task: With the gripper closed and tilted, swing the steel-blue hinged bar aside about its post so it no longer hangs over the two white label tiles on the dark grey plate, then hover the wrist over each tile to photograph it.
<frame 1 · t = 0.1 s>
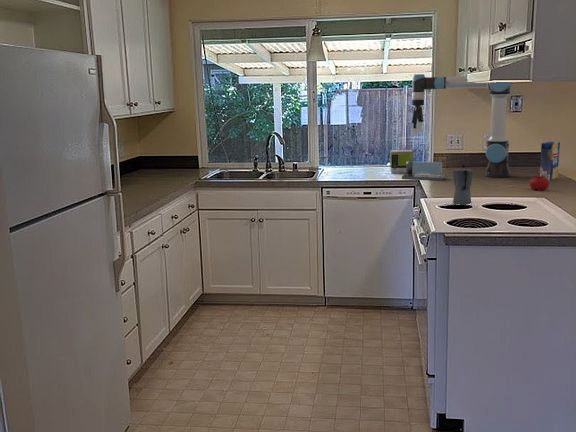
hand: (417, 132, 390), 28 cm above the worktop, tool pointing down, fingers open, 13 cm apart
tea box: (401, 172, 413), on the worktop
pomegranate: (538, 190, 337), on the worktop
beverage box: (548, 178, 374), on the worktop
moka pot: (462, 205, 299), on the worktop
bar: (423, 167, 386), point 6 cm above the worktop, hinge at 0.0°
plate: (423, 178, 385), on the worktop
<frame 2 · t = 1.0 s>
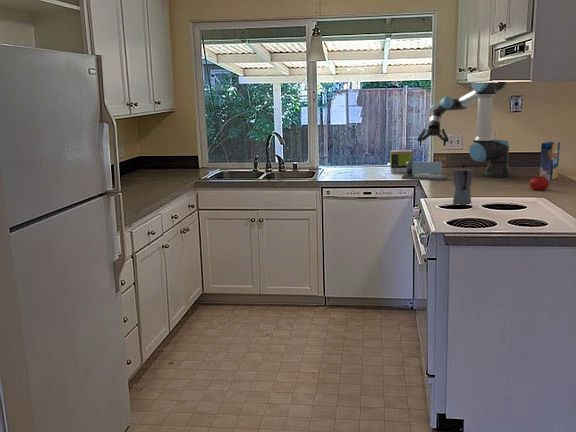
hand: (432, 149, 397), 17 cm above the worktop, tool tilted 45°, fingers open, 12 cm apart
nothing on the worktop moved.
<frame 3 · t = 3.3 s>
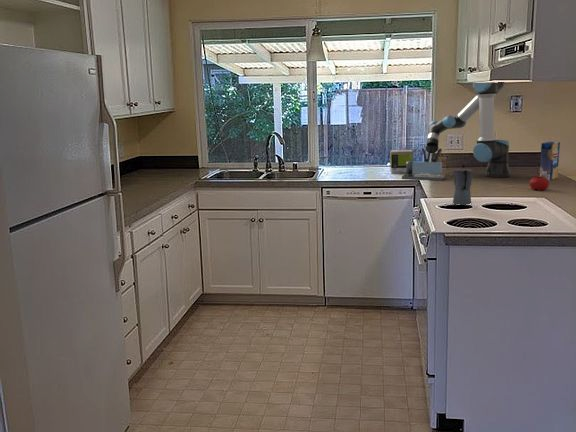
hand: (429, 170, 388), 5 cm above the worktop, tool tilted 45°, fingers closed
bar: (423, 167, 386), point 6 cm above the worktop, hinge at 0.0°, touching gripper
everything else where it was.
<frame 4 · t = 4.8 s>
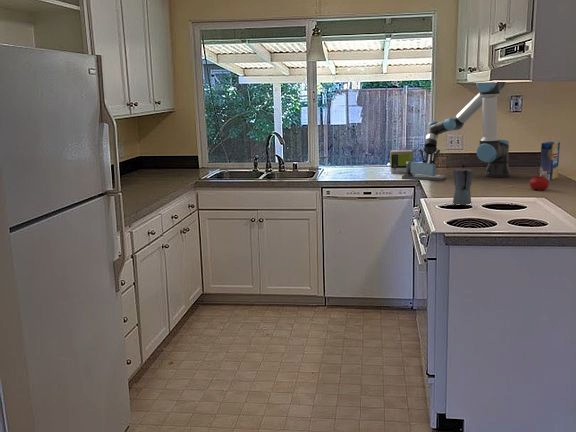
hand: (427, 171, 382), 5 cm above the worktop, tool tilted 45°, fingers closed
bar: (420, 168, 383), point 6 cm above the worktop, hinge at 29.8°, touching gripper
everything else where it was.
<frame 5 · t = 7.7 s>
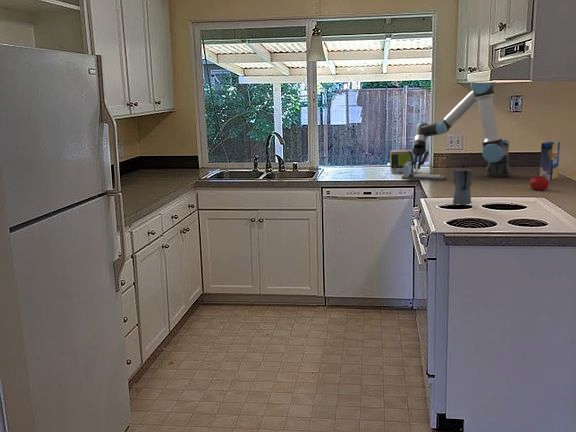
hand: (416, 173, 377), 4 cm above the worktop, tool tilted 45°, fingers closed
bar: (408, 168, 381), point 6 cm above the worktop, hinge at 84.4°, touching hand
everything else where it was.
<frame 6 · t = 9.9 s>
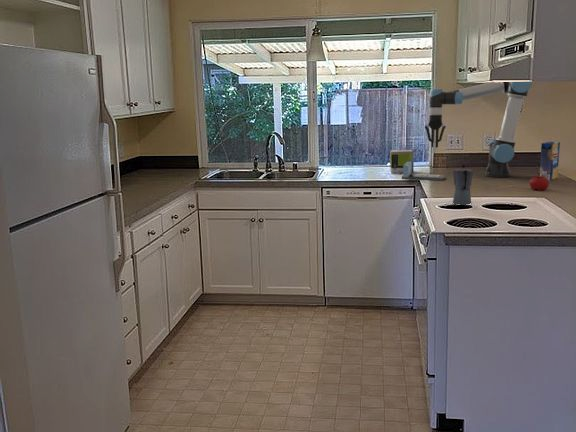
hand: (434, 152, 379), 16 cm above the worktop, tool pointing down, fingers closed
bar: (408, 168, 381), point 6 cm above the worktop, hinge at 84.4°
everything else where it was.
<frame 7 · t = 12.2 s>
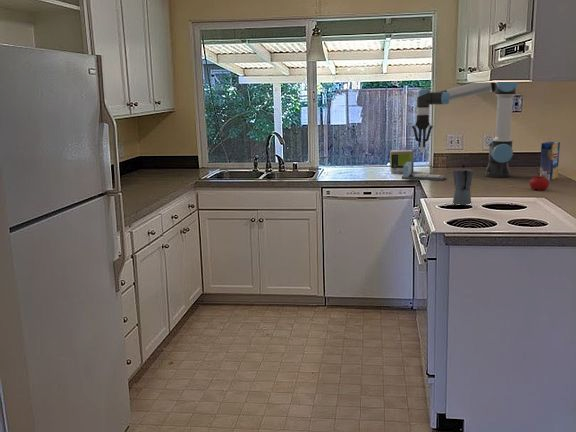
hand: (421, 152, 382), 16 cm above the worktop, tool pointing down, fingers closed
nothing on the worktop moved.
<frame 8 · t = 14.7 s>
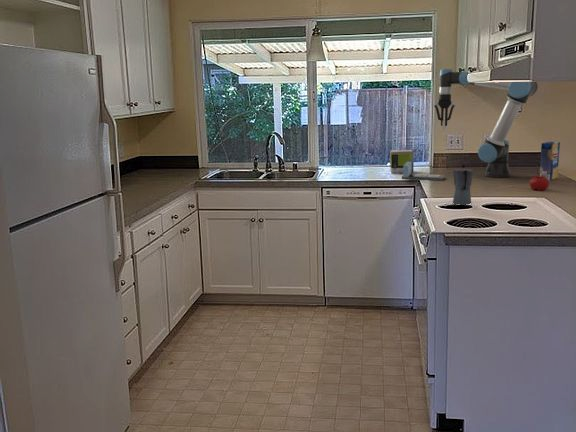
hand: (443, 131, 392), 28 cm above the worktop, tool pointing down, fingers closed
nothing on the worktop moved.
at the end: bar at +84° (first picture: +0°); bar touching nothing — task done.
